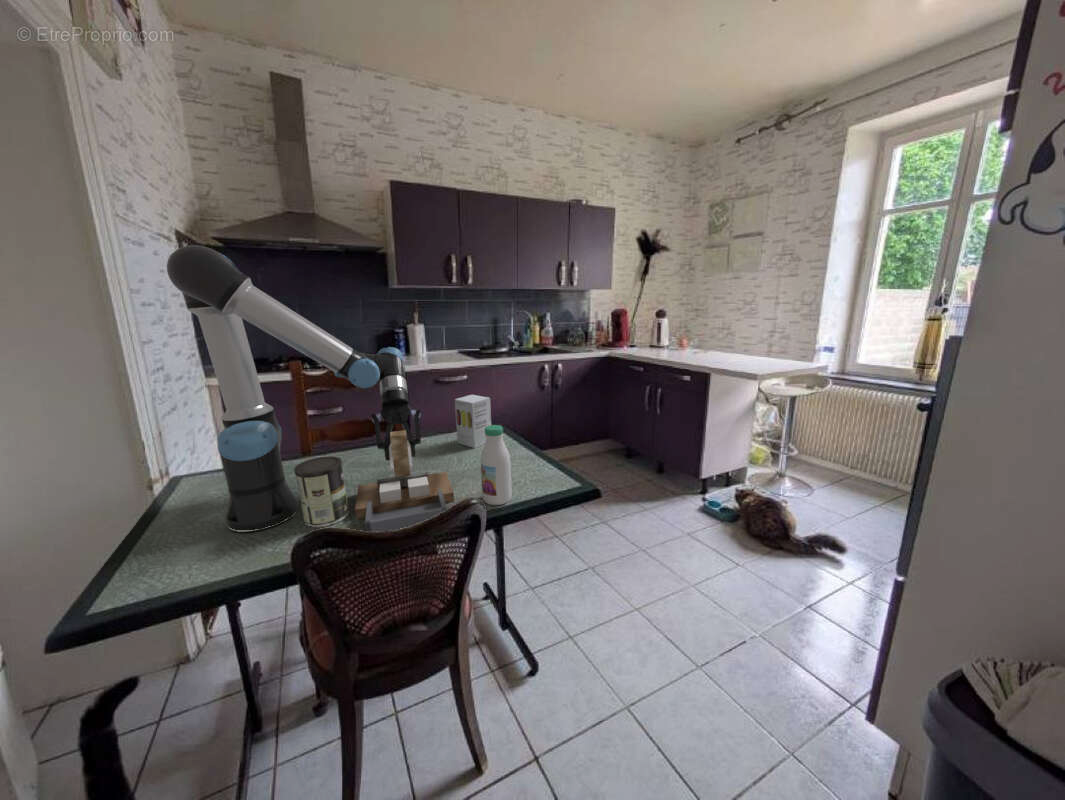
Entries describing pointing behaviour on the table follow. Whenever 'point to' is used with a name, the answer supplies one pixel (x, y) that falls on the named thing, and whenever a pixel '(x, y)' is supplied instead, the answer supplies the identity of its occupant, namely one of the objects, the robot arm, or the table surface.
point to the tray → (402, 515)
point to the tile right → (418, 487)
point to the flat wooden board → (402, 496)
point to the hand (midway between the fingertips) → (402, 469)
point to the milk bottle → (495, 468)
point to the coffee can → (322, 491)
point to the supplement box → (472, 419)
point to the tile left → (390, 492)
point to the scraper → (400, 461)
